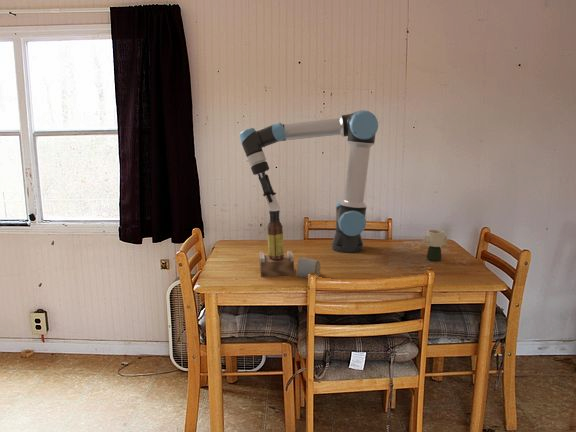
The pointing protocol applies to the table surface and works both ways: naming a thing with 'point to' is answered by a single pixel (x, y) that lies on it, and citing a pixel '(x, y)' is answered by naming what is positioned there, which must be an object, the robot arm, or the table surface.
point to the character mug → (435, 243)
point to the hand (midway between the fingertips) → (275, 209)
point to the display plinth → (277, 265)
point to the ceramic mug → (307, 267)
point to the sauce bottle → (275, 236)
